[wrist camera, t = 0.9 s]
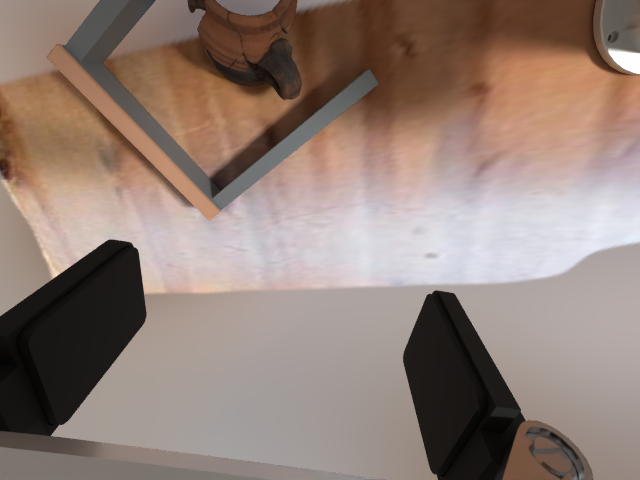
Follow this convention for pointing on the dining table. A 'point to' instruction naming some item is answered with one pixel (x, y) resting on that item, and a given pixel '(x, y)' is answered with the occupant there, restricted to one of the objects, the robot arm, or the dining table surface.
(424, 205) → the dining table surface
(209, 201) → the bay
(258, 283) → the dining table surface
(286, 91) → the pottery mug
